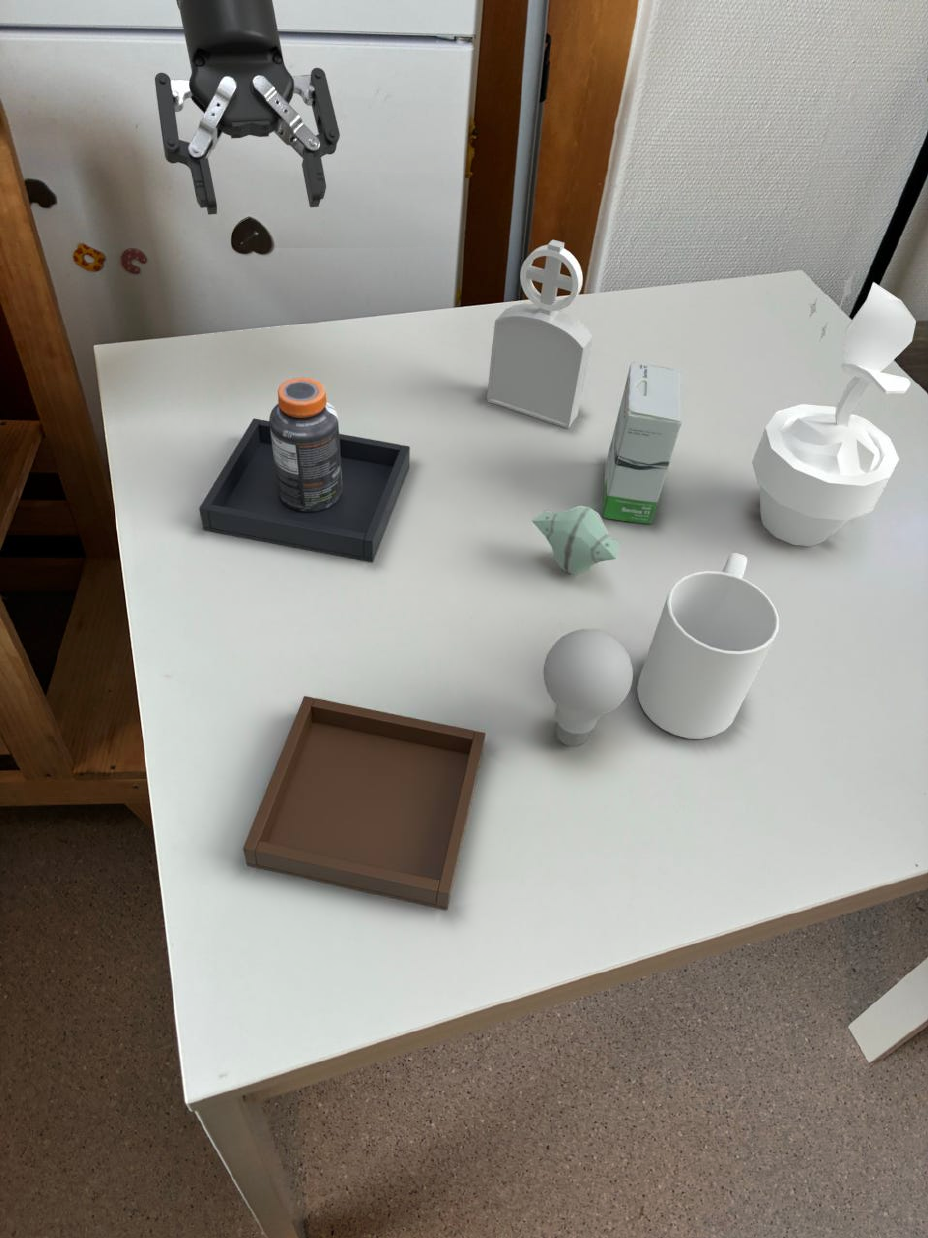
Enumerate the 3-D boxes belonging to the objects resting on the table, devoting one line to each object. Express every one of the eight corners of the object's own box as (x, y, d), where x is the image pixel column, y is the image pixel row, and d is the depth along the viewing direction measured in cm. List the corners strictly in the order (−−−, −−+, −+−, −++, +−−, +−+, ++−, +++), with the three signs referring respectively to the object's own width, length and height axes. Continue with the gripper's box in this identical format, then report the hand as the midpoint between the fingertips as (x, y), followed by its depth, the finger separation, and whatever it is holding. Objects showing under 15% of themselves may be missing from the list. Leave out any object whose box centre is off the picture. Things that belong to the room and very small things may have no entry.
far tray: (203, 530, 80) (198, 508, 78) (256, 439, 89) (253, 417, 87) (372, 562, 79) (372, 541, 77) (409, 467, 88) (410, 445, 86)
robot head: (521, 564, 80) (530, 506, 75) (543, 538, 83) (553, 480, 77) (601, 602, 78) (617, 545, 73) (621, 574, 80) (637, 517, 75)
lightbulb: (607, 708, 70) (637, 614, 62) (612, 775, 66) (645, 684, 58) (529, 702, 70) (548, 607, 62) (530, 770, 66) (551, 677, 58)
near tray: (246, 865, 60) (242, 848, 58) (306, 714, 68) (304, 695, 66) (447, 910, 58) (449, 894, 57) (483, 750, 67) (485, 732, 65)
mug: (724, 755, 68) (768, 669, 60) (624, 718, 70) (654, 629, 62) (754, 644, 76) (797, 555, 68) (663, 613, 77) (695, 522, 69)
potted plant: (738, 474, 91) (831, 229, 72) (856, 503, 89) (982, 260, 70) (724, 556, 83) (824, 304, 64) (853, 590, 81) (995, 341, 62)
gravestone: (568, 428, 94) (599, 263, 80) (486, 401, 96) (503, 235, 83) (577, 415, 96) (609, 250, 82) (497, 388, 98) (515, 224, 84)
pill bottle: (343, 472, 86) (339, 369, 78) (341, 514, 82) (336, 410, 74) (280, 471, 86) (268, 368, 77) (275, 513, 82) (262, 409, 73)
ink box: (652, 526, 85) (684, 422, 76) (600, 518, 85) (625, 413, 76) (654, 469, 90) (683, 365, 81) (605, 461, 91) (629, 357, 82)
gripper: (131, -25, 68) (175, 194, 69) (317, -27, 72) (355, 182, 73) (138, 33, 75) (178, 231, 77) (307, 29, 79) (342, 218, 80)
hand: (265, 207), depth 75 cm, fingers open, 8 cm apart
